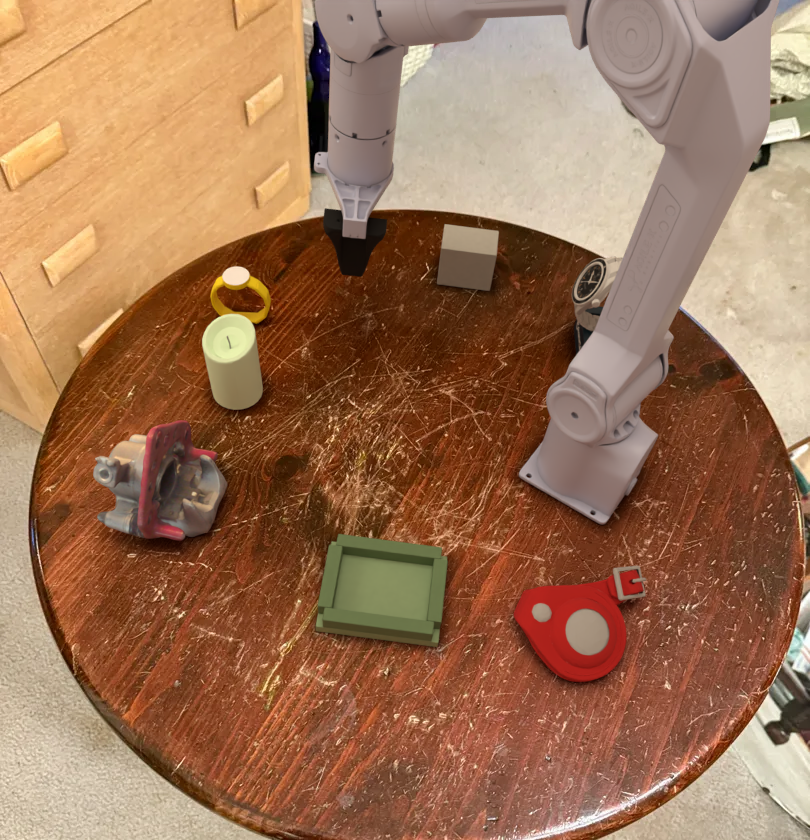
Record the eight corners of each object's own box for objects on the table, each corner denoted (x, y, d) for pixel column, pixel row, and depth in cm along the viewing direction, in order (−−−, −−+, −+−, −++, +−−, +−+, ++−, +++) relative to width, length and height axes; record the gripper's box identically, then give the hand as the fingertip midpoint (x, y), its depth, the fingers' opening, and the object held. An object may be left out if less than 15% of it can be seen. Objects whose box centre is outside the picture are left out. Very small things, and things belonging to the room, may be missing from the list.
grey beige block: (491, 267, 93) (498, 230, 89) (489, 291, 91) (496, 255, 87) (440, 260, 94) (444, 223, 89) (436, 284, 91) (441, 248, 87)
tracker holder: (616, 700, 66) (509, 646, 66) (594, 701, 71) (493, 650, 70) (665, 569, 70) (563, 516, 69) (641, 578, 74) (545, 528, 73)
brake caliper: (224, 560, 69) (114, 479, 61) (142, 576, 75) (33, 504, 68) (263, 456, 75) (167, 369, 67) (184, 478, 81) (88, 401, 73)
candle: (242, 418, 80) (232, 360, 73) (202, 396, 81) (188, 336, 74) (273, 386, 82) (266, 327, 75) (233, 365, 84) (222, 304, 77)
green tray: (446, 561, 73) (449, 547, 71) (437, 647, 69) (440, 635, 67) (331, 546, 73) (331, 532, 71) (315, 631, 69) (314, 618, 67)
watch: (555, 324, 89) (580, 242, 80) (628, 330, 90) (661, 249, 80) (558, 363, 87) (584, 282, 77) (633, 369, 87) (668, 289, 77)
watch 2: (274, 312, 88) (269, 268, 83) (270, 331, 86) (265, 287, 81) (218, 307, 88) (210, 262, 82) (213, 325, 86) (205, 282, 81)
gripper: (321, 60, 72) (319, 190, 84) (307, 170, 65) (307, 295, 77) (401, 70, 72) (388, 198, 84) (395, 179, 65) (382, 302, 77)
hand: (354, 245), depth 81 cm, fingers open, 7 cm apart
